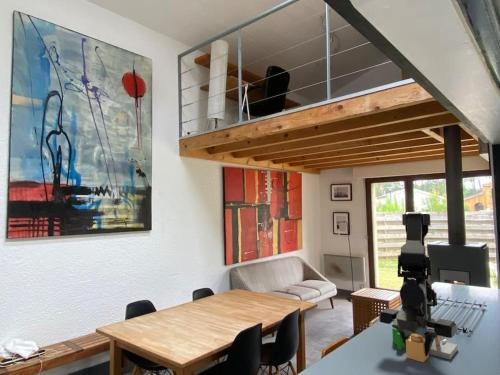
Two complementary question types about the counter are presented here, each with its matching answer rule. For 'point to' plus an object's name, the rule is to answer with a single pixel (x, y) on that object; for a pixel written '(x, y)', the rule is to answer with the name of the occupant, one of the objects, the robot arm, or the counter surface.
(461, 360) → the counter surface
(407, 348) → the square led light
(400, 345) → the pipe clamp
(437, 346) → the plate
